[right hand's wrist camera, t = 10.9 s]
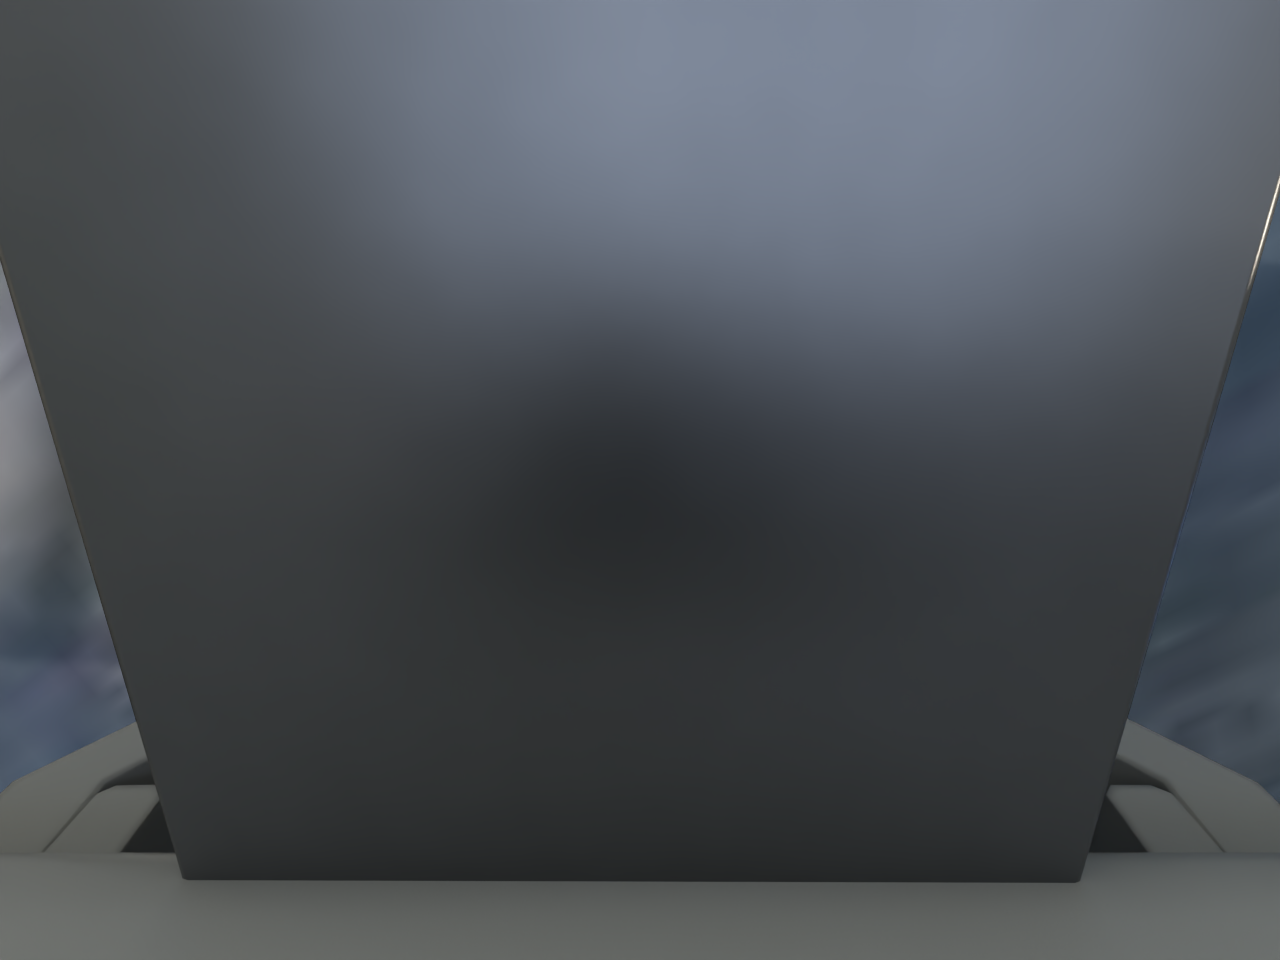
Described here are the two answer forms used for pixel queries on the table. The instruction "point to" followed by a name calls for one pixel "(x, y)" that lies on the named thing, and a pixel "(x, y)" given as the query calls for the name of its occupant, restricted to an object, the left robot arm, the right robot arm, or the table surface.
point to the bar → (633, 412)
